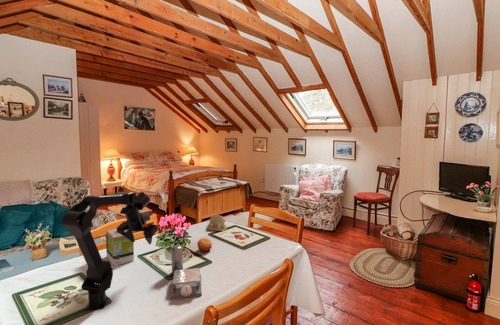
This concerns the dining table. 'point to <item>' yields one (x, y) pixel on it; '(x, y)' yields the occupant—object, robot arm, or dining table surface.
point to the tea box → (118, 248)
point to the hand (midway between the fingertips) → (142, 242)
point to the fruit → (204, 244)
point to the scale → (186, 290)
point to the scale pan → (186, 276)
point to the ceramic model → (217, 223)
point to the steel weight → (177, 258)
